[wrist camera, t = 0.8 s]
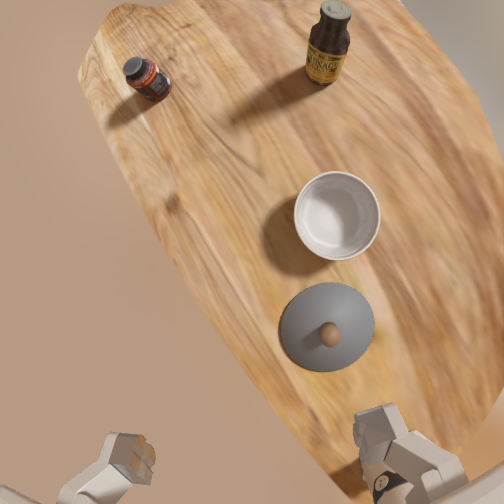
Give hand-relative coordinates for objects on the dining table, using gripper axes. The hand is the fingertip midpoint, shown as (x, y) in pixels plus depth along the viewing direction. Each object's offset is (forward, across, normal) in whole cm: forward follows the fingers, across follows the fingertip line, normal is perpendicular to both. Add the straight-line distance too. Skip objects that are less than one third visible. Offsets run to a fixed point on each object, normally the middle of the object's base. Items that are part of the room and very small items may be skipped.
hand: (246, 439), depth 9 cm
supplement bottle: (+53, -13, +25) cm, 60 cm away
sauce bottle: (+48, +18, +21) cm, 55 cm away
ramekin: (+41, +14, -4) cm, 43 cm away
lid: (+36, +11, -23) cm, 44 cm away
